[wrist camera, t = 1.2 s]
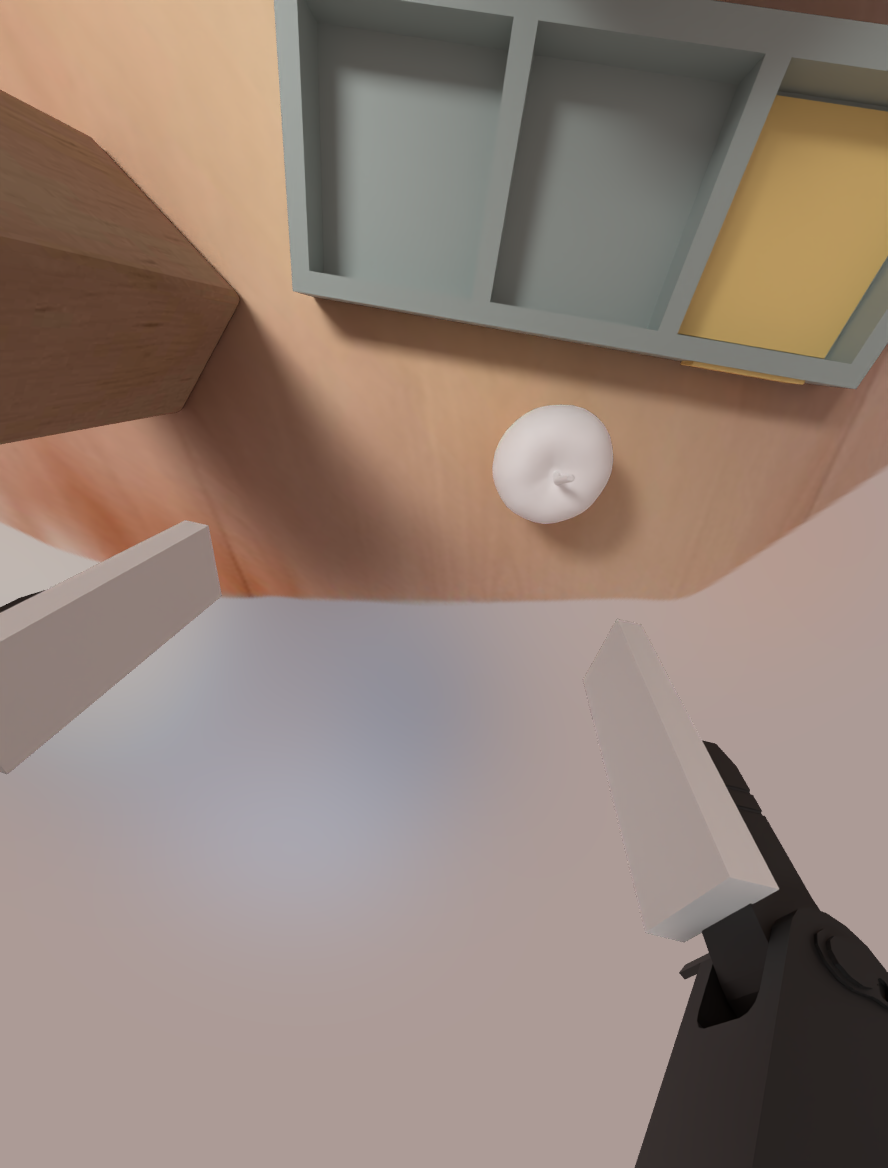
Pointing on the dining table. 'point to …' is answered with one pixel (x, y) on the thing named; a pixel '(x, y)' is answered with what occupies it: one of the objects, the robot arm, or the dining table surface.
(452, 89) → the grey-green compartment tray
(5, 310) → the wooden block
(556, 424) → the plain white apple
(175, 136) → the dining table surface
